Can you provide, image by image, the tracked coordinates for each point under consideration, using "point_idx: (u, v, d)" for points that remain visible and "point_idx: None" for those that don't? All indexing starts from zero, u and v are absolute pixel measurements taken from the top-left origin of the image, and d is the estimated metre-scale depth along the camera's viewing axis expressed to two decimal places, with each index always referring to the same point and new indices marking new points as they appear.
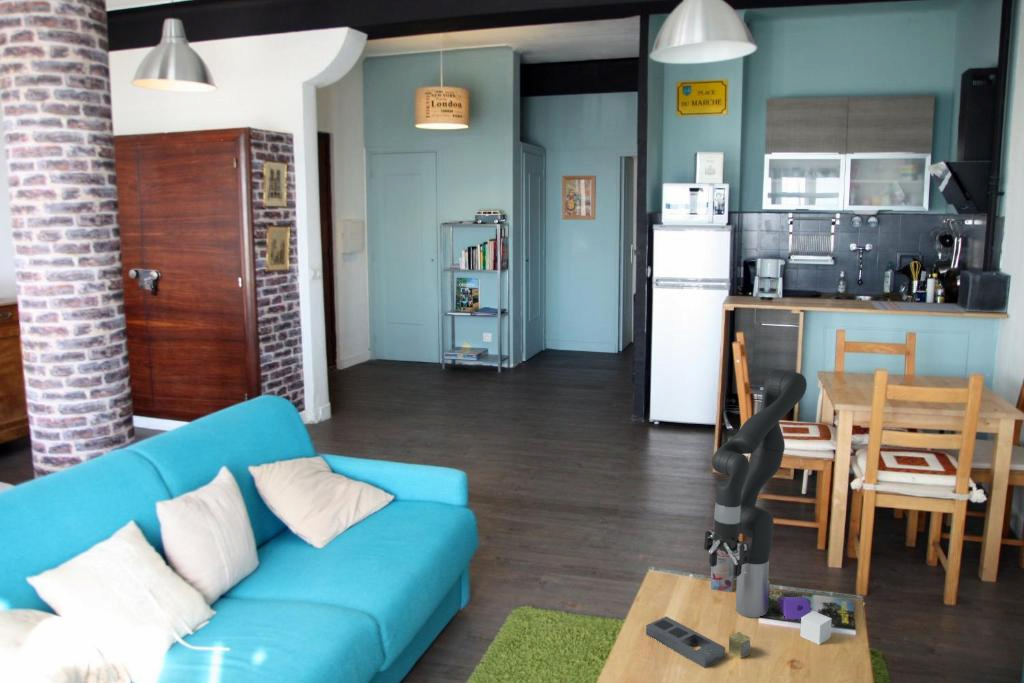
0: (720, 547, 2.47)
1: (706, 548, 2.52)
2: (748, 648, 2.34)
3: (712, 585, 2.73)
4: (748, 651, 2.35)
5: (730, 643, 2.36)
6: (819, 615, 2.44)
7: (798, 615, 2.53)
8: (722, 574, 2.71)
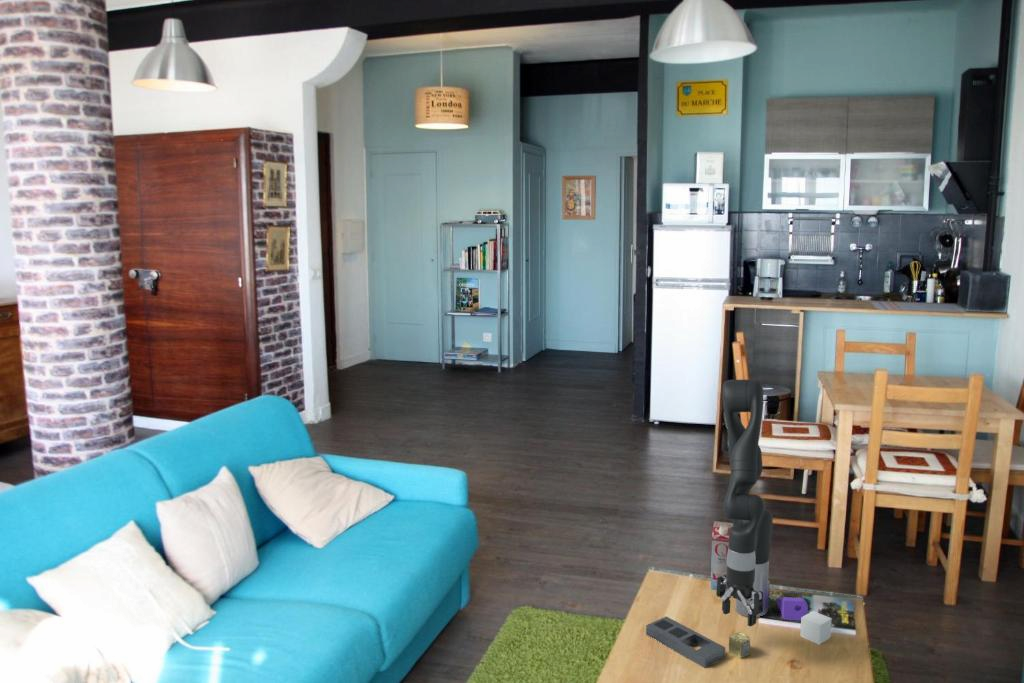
0: (733, 594, 2.33)
1: (718, 595, 2.38)
2: (748, 648, 2.34)
3: (712, 585, 2.73)
4: (748, 651, 2.35)
5: (730, 643, 2.36)
6: (819, 615, 2.44)
7: (795, 616, 2.52)
8: (722, 574, 2.71)
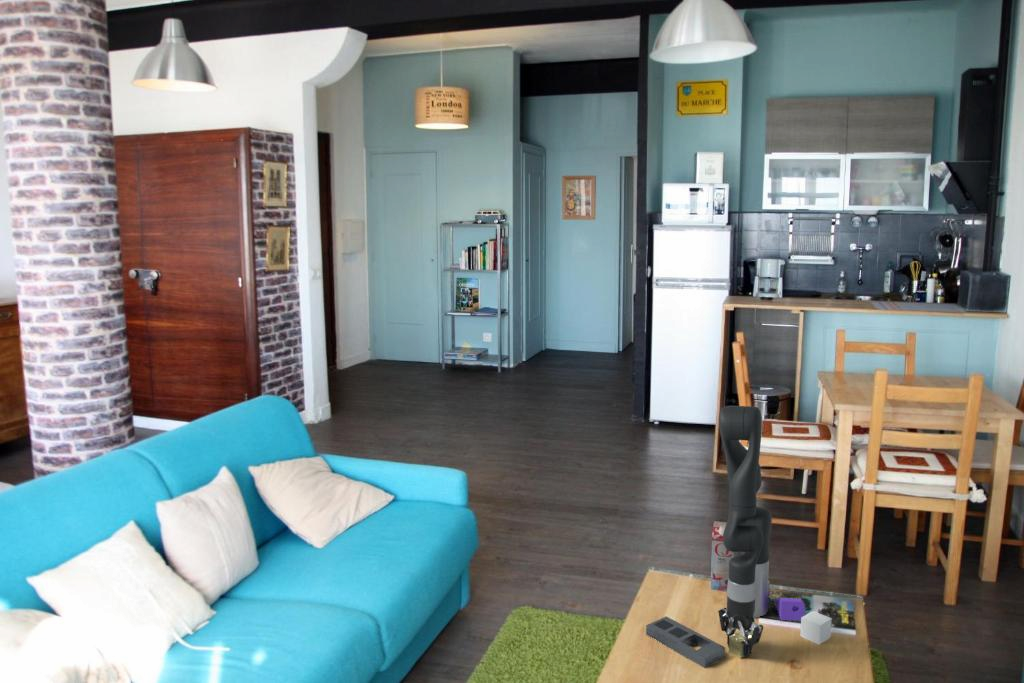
0: (736, 625, 2.34)
1: (723, 629, 2.38)
2: None
3: (712, 585, 2.73)
4: None
5: (730, 643, 2.36)
6: (819, 615, 2.44)
7: (793, 616, 2.52)
8: (722, 574, 2.71)
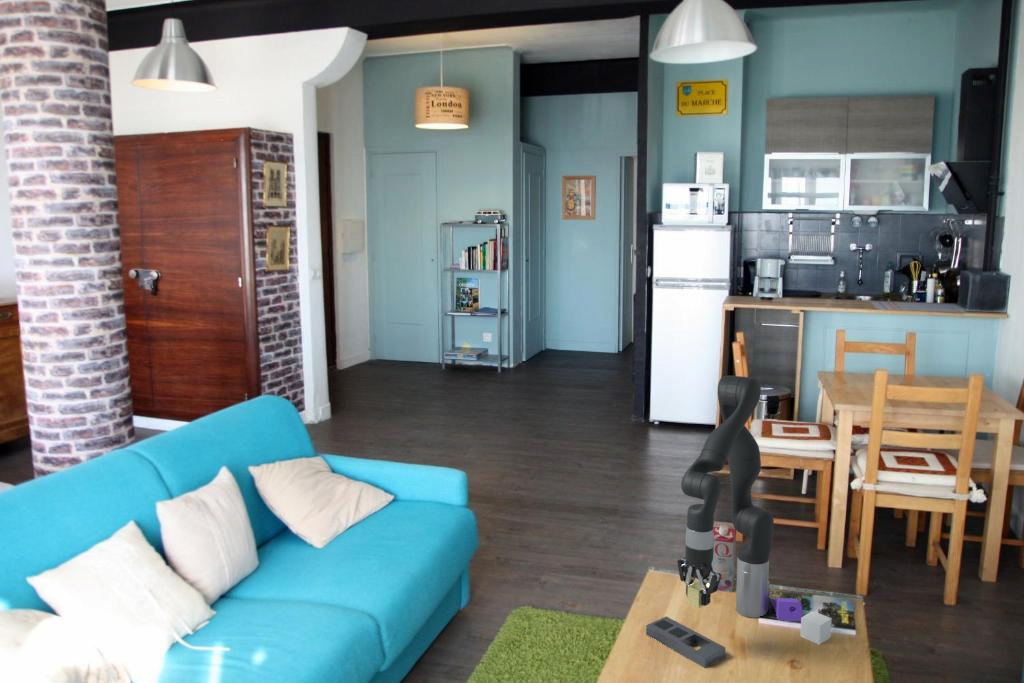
0: (694, 574, 2.32)
1: (682, 579, 2.36)
2: None
3: None
4: None
5: (688, 592, 2.34)
6: (819, 615, 2.44)
7: (790, 617, 2.52)
8: (722, 574, 2.71)
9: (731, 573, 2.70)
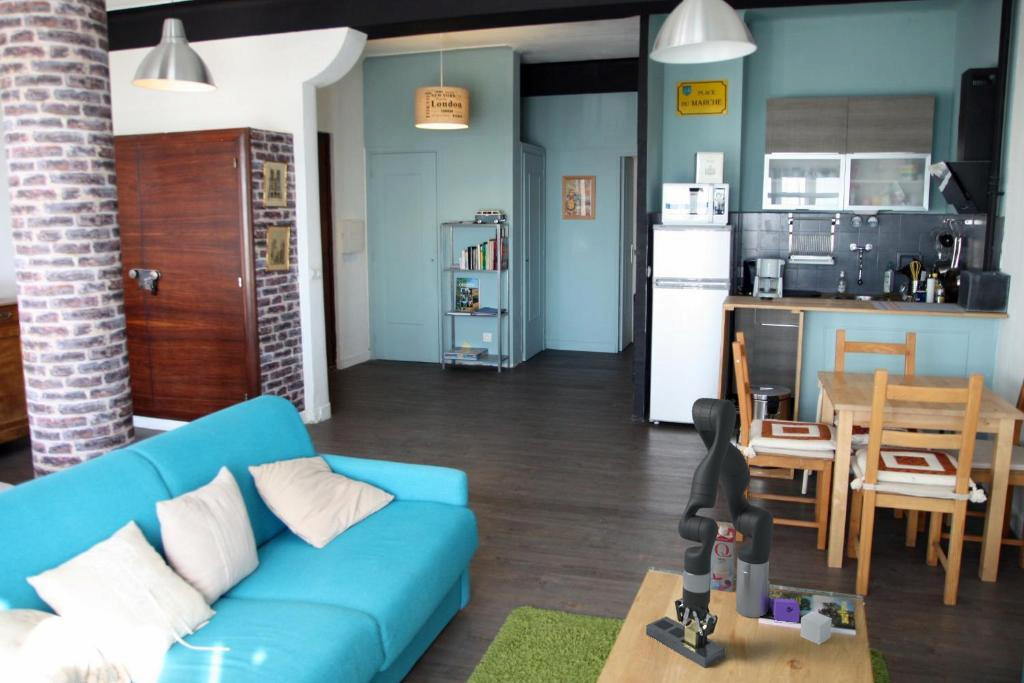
0: (691, 615, 2.35)
1: (680, 620, 2.39)
2: None
3: (712, 585, 2.73)
4: None
5: (685, 633, 2.36)
6: (819, 615, 2.44)
7: (787, 617, 2.52)
8: (722, 574, 2.71)
9: (731, 573, 2.70)
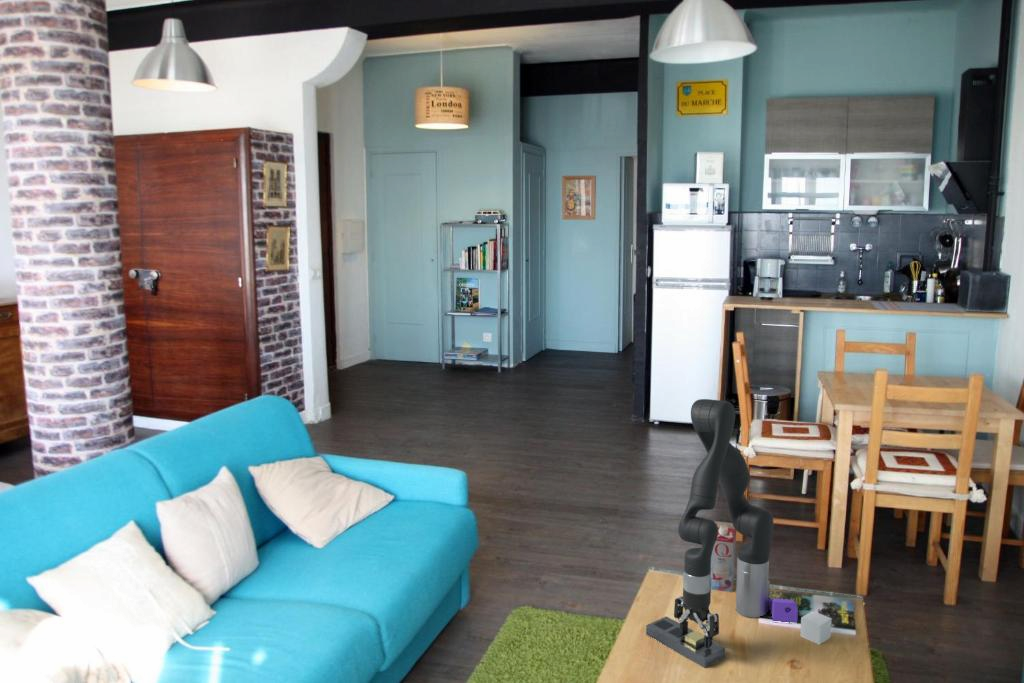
0: (690, 616, 2.36)
1: (676, 616, 2.40)
2: None
3: (712, 585, 2.73)
4: None
5: (686, 642, 2.37)
6: (819, 615, 2.44)
7: (785, 617, 2.52)
8: (722, 574, 2.71)
9: (731, 573, 2.70)
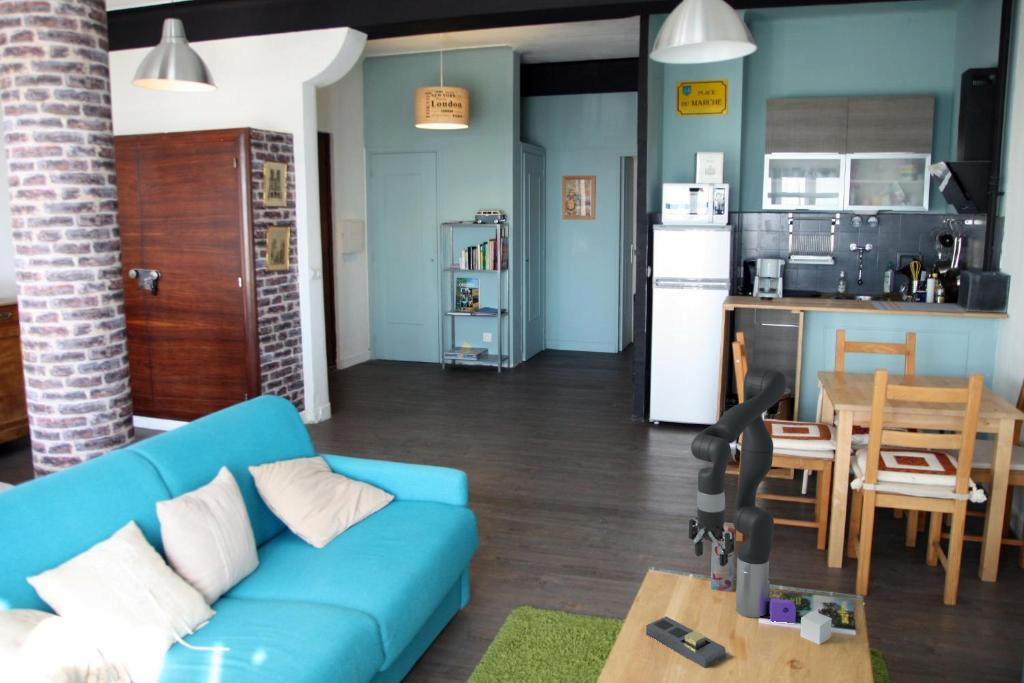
0: (705, 536, 2.36)
1: (691, 537, 2.40)
2: None
3: (712, 585, 2.73)
4: None
5: (686, 642, 2.37)
6: (819, 615, 2.44)
7: (783, 618, 2.51)
8: (722, 574, 2.71)
9: (731, 573, 2.70)
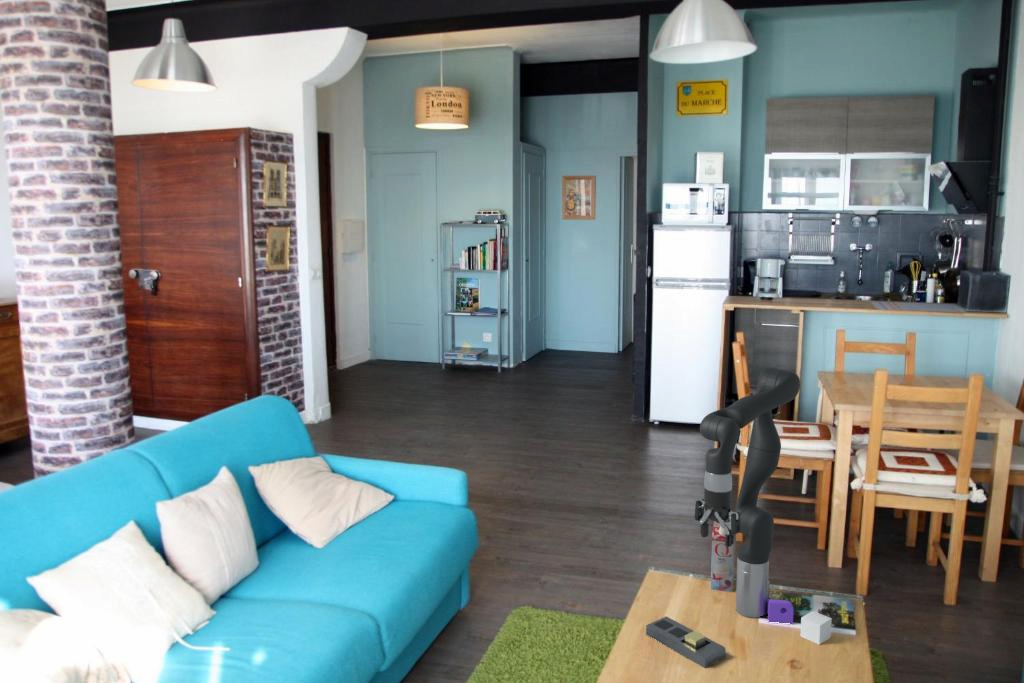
0: (711, 517, 2.37)
1: (697, 518, 2.41)
2: None
3: (712, 585, 2.73)
4: None
5: (686, 642, 2.37)
6: (819, 615, 2.44)
7: (781, 618, 2.51)
8: (722, 574, 2.71)
9: (731, 573, 2.70)
